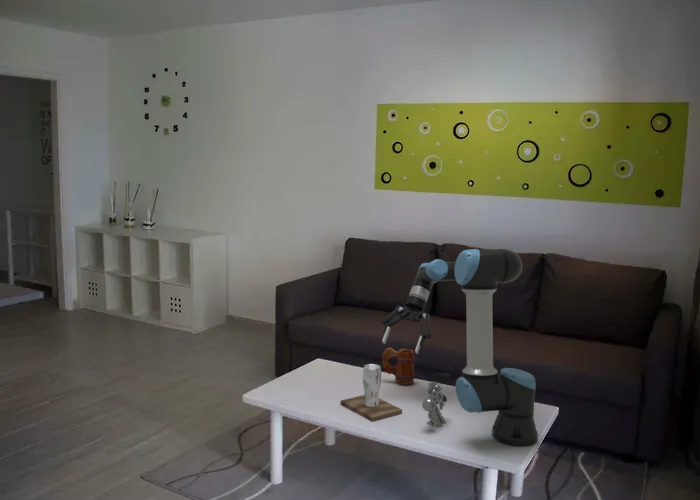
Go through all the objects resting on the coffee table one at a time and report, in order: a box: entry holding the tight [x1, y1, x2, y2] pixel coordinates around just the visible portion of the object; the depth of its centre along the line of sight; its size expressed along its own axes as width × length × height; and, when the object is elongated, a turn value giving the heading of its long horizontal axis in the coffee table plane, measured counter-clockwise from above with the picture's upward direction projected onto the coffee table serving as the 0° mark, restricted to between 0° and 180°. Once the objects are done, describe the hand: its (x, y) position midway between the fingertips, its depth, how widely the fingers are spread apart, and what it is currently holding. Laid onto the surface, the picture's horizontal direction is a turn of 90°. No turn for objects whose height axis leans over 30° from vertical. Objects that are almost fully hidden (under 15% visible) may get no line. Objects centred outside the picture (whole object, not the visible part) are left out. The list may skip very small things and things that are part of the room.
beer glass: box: [362, 363, 382, 408], centre depth 241 cm, size 7×7×15 cm
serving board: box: [340, 394, 403, 422], centre depth 242 cm, size 20×14×2 cm
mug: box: [381, 347, 417, 386], centre depth 271 cm, size 15×8×15 cm, turn 84°
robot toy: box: [421, 380, 448, 428], centre depth 228 cm, size 15×6×15 cm, turn 148°
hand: (399, 347), depth 248 cm, fingers open, 13 cm apart
